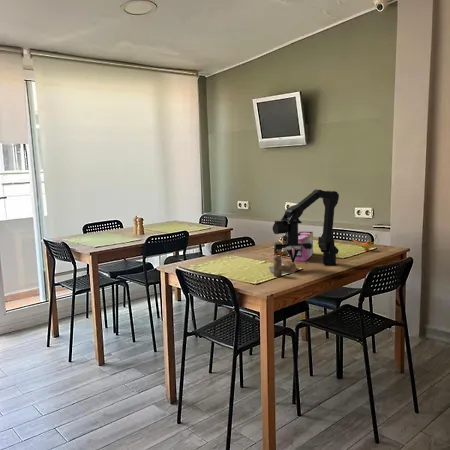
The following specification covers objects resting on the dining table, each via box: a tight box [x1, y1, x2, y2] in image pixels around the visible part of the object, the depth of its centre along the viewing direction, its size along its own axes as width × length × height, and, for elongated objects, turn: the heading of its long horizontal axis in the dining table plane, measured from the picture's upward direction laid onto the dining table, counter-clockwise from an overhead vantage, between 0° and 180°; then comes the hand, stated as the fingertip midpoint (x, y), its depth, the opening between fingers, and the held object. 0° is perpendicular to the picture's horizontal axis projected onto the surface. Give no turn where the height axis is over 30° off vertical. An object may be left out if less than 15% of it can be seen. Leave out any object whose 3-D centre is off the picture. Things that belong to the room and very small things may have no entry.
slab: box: [282, 260, 297, 272], centre depth 234 cm, size 3×10×7 cm
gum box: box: [291, 231, 314, 262], centre depth 262 cm, size 24×8×14 cm, turn 158°
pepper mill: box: [273, 255, 283, 278], centre depth 222 cm, size 4×4×10 cm
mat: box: [268, 265, 296, 274], centre depth 234 cm, size 12×14×1 cm
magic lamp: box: [350, 234, 380, 251], centre depth 275 cm, size 7×18×11 cm, turn 52°
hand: (292, 262), depth 234 cm, fingers closed
